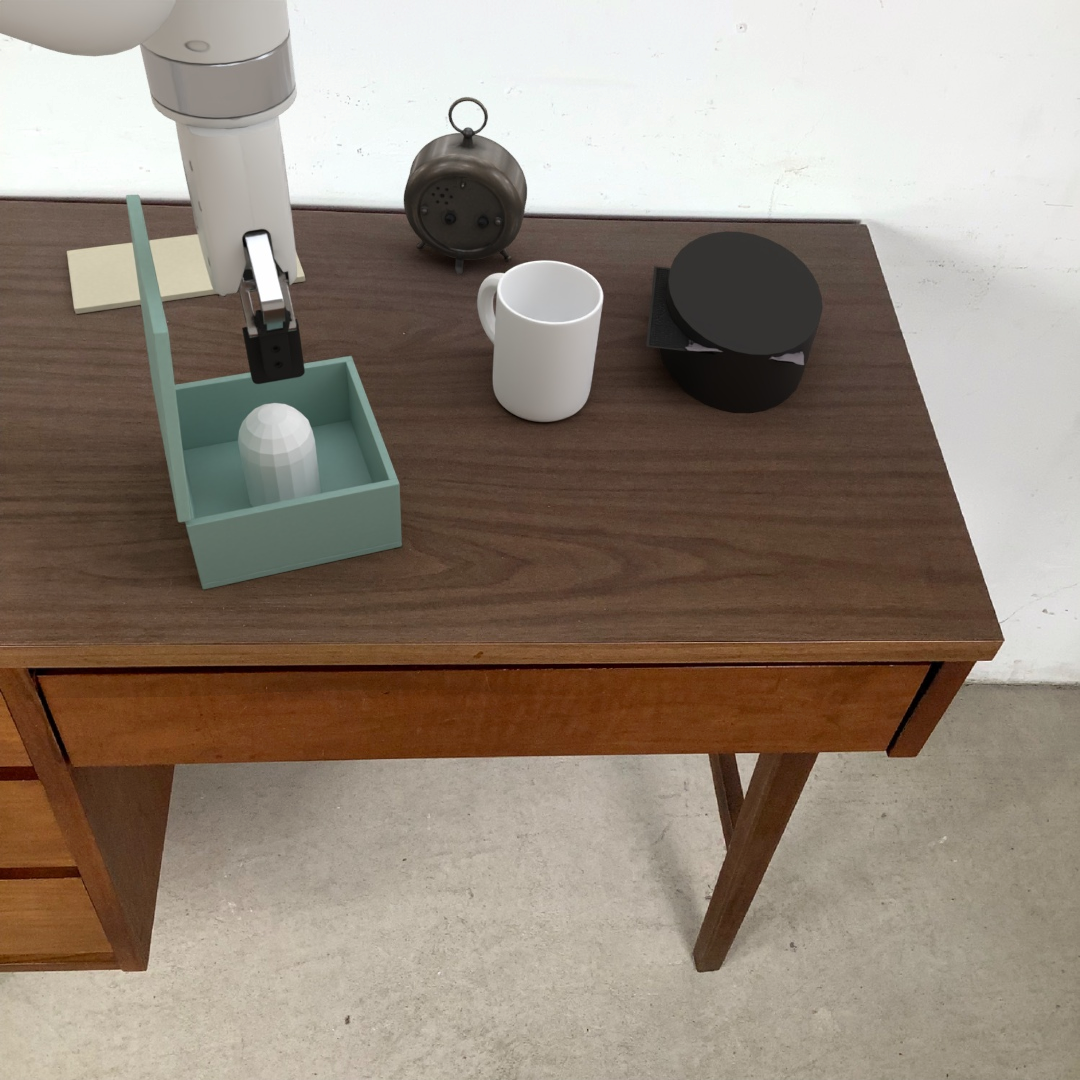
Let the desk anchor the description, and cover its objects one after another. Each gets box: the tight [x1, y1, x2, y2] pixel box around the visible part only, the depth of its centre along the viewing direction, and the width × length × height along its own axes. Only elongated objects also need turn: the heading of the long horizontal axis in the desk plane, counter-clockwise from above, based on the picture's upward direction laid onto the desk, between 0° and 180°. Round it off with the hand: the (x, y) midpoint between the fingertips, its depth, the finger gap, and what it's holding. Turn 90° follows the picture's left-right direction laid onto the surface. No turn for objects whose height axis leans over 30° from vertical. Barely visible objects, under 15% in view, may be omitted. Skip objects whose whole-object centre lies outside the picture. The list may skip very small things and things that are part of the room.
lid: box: [125, 194, 191, 523], centre depth 67 cm, size 15×14×1 cm
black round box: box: [645, 230, 823, 414], centre depth 94 cm, size 14×18×8 cm
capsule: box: [238, 403, 321, 507], centre depth 77 cm, size 5×5×8 cm
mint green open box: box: [175, 355, 403, 590], centre depth 78 cm, size 14×14×7 cm
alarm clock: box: [403, 96, 528, 275], centre depth 96 cm, size 11×5×16 cm, turn 84°
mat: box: [66, 233, 306, 315], centre depth 98 cm, size 20×9×1 cm, turn 110°
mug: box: [476, 260, 604, 423], centre depth 87 cm, size 12×8×10 cm
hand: (264, 329), depth 69 cm, fingers open, 9 cm apart
